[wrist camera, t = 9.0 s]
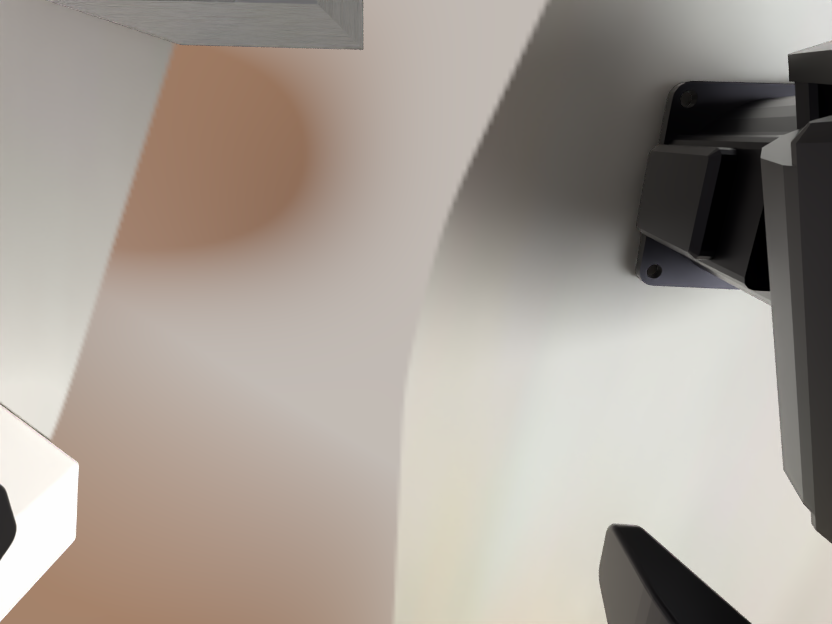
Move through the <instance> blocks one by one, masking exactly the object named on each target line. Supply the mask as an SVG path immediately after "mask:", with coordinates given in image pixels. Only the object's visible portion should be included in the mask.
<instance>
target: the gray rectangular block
mask: <svg viewBox="0 0 832 624" xmlns="http://www.w3.org/2000/svg"><path fill="white" fill-rule="evenodd" d="M47 1H50V2H53V3H56V4H59V5H62V6H65V7H69V8H72V9H75V10H78V11H81V12H84V13H87V14H90V15H93V16H96V17H99V18H102V19H105V20H108V21H111V22H114V23H117V24H120V25H123V26H126V27H129V28H132V29H135V30H138V31H141V32H144V33H147V34H150V35H153V36H156V37H159V38H162V39H165V40H168V41H171V42H174V43H177V44H180V45H206V46H243V47H244V46H245V47H282V48H283V47H284V48H285V47H286V48H323V49H360V50H361V49H362V50H363V0H47Z"/></svg>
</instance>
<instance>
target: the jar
mask: <svg viewBox="0 0 832 624" xmlns="http://www.w3.org/2000/svg"><path fill="white" fill-rule="evenodd" d="M78 471H79V464H78V462H77V461H76V460H74V459H73V458H72V457H70V456H69V455H68V454H66V453H65V452H63V451H62V450H61V449H60V448H58V447H57V446H55V445H54V444H53V443H52V442H50V441H49V440H48V439H46V438H45V437H44V436H42V435H41V434H39V433H38V432H37V431H35V430H34V429H33V428H31V427H30V426H29V425H27V424H26V423H25V422H23V421H22V420H21V419H19V418H18V417H17V416H15V415H14V414H13V413H11V412H10V411H9V410H7V409H6V408H5V407H3V406H2V405H0V484H1V485H2V486H3V487H4V488H5V489H6V491H7V494H8V498H9V501H10V504H11V508H12V511H13V514H14V518H15V521H16V525H17V532H16V536H15V538H14V541H13V543H12V544H11V546H10V547H9V549H8V550H7V552H6V553H5V555H4V556H3V557H2V559H1V560H0V621H1V620H2V619H3V618H4V617H5V616H6V615H7V614H8V612H9V611H10V610H11V609H12V608H13V607H14V606H15V605H16V604H17V603H18V602H19V600H20V599H21V598H22V597H23V596H24V595H25V594H26V593H27V592H28V591H29V590H30V588H31V587H32V586H33V585H34V584H35V583H36V582H37V581H38V580H39V579H40V577H41V576H42V575H43V574H44V573H45V572H46V571H47V570H48V569H49V568H50V567H51V565H52V564H53V563H54V562H55V561H56V560H57V559H58V558H59V557H60V556H61V555H62V553H63V552H64V551H65V550H66V549H67V548H68V547H69V546H70V545H71V544H72V542H73V541H74V540H75V538H76V518H77V517H76V516H77V495H78V473H79V472H78Z"/></svg>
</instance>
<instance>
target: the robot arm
mask: <svg viewBox="0 0 832 624" xmlns="http://www.w3.org/2000/svg"><path fill="white" fill-rule="evenodd" d="M788 65H789V81H793V82H795V84H781V83H744V82H708V81H690V82H685V83H680V84H678V85H677V86H675V87H674V88H673V89H672V90H671V91H670V93H669V95H668V98H667V102H666V107H665V112H664V118H663V123H662V129H661V134H660V139H659V145H657V146H656V147H654V148H653V149H652V150H651V151H650V153H649V157H648V163H647V169H646V174H645V180H644V185H643V191H642V196H641V202H640V207H639V213H638V218H637V225H636V226H637V228H638V229H639V230H640V231H641V233H642V237H641V242H640V247H639V253H638V258H637V264H636V275H637V277H638V278H639V279H640V280H642V281H643V282H644V283H646V284H648V285H653V286H675V287H697V288H719V289H741V290H743V291H744V292H746V293H748V294H750V295H752V296H754V297H756V298H758V299H759V300H761V301H763V302H765V303H767V304H769V305H771V307H772V321H773V334H774V348H775V362H776V375H777V389H778V402H779V416H780V429H781V443H782V456H783V470H784V471H785V473H786V475H787V477H788V478H789V480H790V482H791V483H792V485H793V487H794V489H795V490H796V492H797V494H798V495H799V497H800V499H801V501H802V502H803V504H804V505H805V506H806V507H807V508H808V509H809V510H810V511H811V522H812V525H813V526H814V528H815V530H816V531H818V532H819V533H820V534H821V535H822V536H823V537H825V538H826V539H827V540H828V541H829V542H831V543H832V41H829V42H826V43H822V44H819V45H816V46H813V47H809V48H806V49H803V50H800V51H796V52H793V53H790V54H788ZM685 91H687V92H689V93H690V94H691V99H692V100H691V102H690V104H689V105H688V106H687V107H683V106H682V105H681V103H680V98H681V96H682V94H683V93H684V92H685ZM655 264H657V268H658V269H657V271H656V273H655V274H653V275H650V276H648V275H647V270H648V268H649V267H650V266H651V265H655ZM16 532H17V525H16V521H15V518H14V514H13V511H12V508H11V504H10V501H9V498H8V494H7V491H6V489H5V488H4V487H3V486H2V485H1V484H0V560H1V559H2V557H3V556H4V555H5V553H6V552H7V550H8V549H9V547H10V546H11V544H12V543H13V541H14V538H15V536H16ZM599 583H600V588H601V593H602V598H603V603H604V608H605V613H606V617H607V622H608V624H752V623H750V622H749V621H748V620H747V619H746V618H745V617H744V616H742V615H741V614H740V613H739V612H738V611H737V610H736V609H734V608H733V607H732V606H731V605H730V604H729V603H728V602H726V601H725V600H724V599H723V598H722V597H721V596H720V595H718V594H717V593H716V592H715V591H714V590H713V589H712V588H710V587H709V586H708V585H707V584H706V583H705V582H704V581H702V580H701V579H700V578H699V577H698V576H697V575H696V574H694V573H693V572H692V571H691V570H690V569H689V568H688V567H686V566H685V565H684V564H683V563H682V562H681V561H680V560H678V559H677V558H676V557H675V556H674V555H673V554H672V553H670V552H669V551H668V550H667V549H666V548H665V547H664V546H662V545H661V544H660V543H659V542H658V541H657V540H656V539H654V538H653V537H652V536H651V535H650V534H649V533H648V532H646V531H645V530H644V529H643V528H641V527H640V526H637V525H627V524H612V525H610V526H609V527H608V529H607V531H606V536H605V541H604V546H603V551H602V556H601V561H600V566H599Z"/></svg>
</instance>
